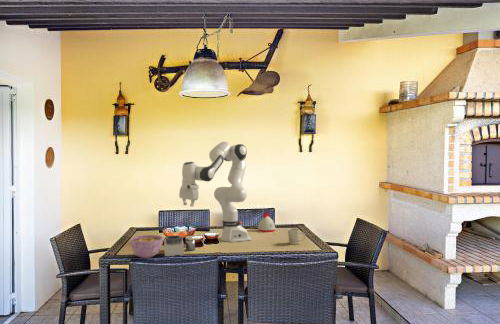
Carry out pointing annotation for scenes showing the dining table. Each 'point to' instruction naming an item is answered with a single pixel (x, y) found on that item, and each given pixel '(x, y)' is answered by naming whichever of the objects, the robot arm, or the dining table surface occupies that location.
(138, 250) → the bowl of food
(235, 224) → the robot arm
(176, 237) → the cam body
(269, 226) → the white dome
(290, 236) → the mug
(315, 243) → the dining table surface
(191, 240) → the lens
